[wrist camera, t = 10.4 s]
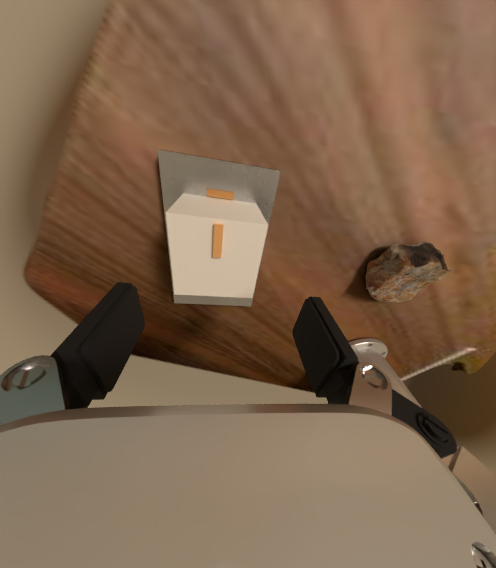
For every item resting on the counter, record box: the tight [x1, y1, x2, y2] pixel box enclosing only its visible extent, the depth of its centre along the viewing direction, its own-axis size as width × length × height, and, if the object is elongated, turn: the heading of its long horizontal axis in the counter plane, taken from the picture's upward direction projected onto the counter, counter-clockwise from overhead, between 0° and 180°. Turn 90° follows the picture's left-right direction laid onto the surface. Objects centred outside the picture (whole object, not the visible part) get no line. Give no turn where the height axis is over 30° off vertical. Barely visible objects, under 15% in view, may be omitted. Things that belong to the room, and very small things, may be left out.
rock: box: [366, 242, 451, 303], centre depth 24 cm, size 9×6×10 cm
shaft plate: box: [158, 150, 280, 306], centre depth 19 cm, size 16×10×4 cm, turn 171°
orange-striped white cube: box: [166, 193, 268, 298], centre depth 16 cm, size 7×7×6 cm
